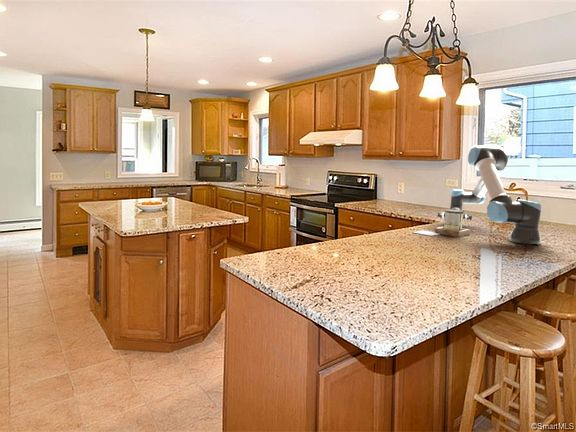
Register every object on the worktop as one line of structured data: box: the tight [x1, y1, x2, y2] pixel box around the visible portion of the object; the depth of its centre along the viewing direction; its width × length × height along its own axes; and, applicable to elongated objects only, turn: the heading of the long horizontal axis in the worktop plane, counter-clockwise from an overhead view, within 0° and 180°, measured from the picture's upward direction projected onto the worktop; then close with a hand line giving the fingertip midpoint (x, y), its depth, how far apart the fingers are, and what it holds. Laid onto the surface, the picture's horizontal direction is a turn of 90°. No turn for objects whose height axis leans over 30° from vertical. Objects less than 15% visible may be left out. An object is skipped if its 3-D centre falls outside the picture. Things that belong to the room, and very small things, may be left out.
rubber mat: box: [412, 230, 442, 237], centre depth 246 cm, size 12×12×1 cm
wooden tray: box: [434, 226, 471, 238], centre depth 249 cm, size 14×14×3 cm
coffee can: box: [443, 208, 464, 231], centre depth 248 cm, size 10×10×14 cm
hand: (454, 217), depth 257 cm, fingers open, 13 cm apart
